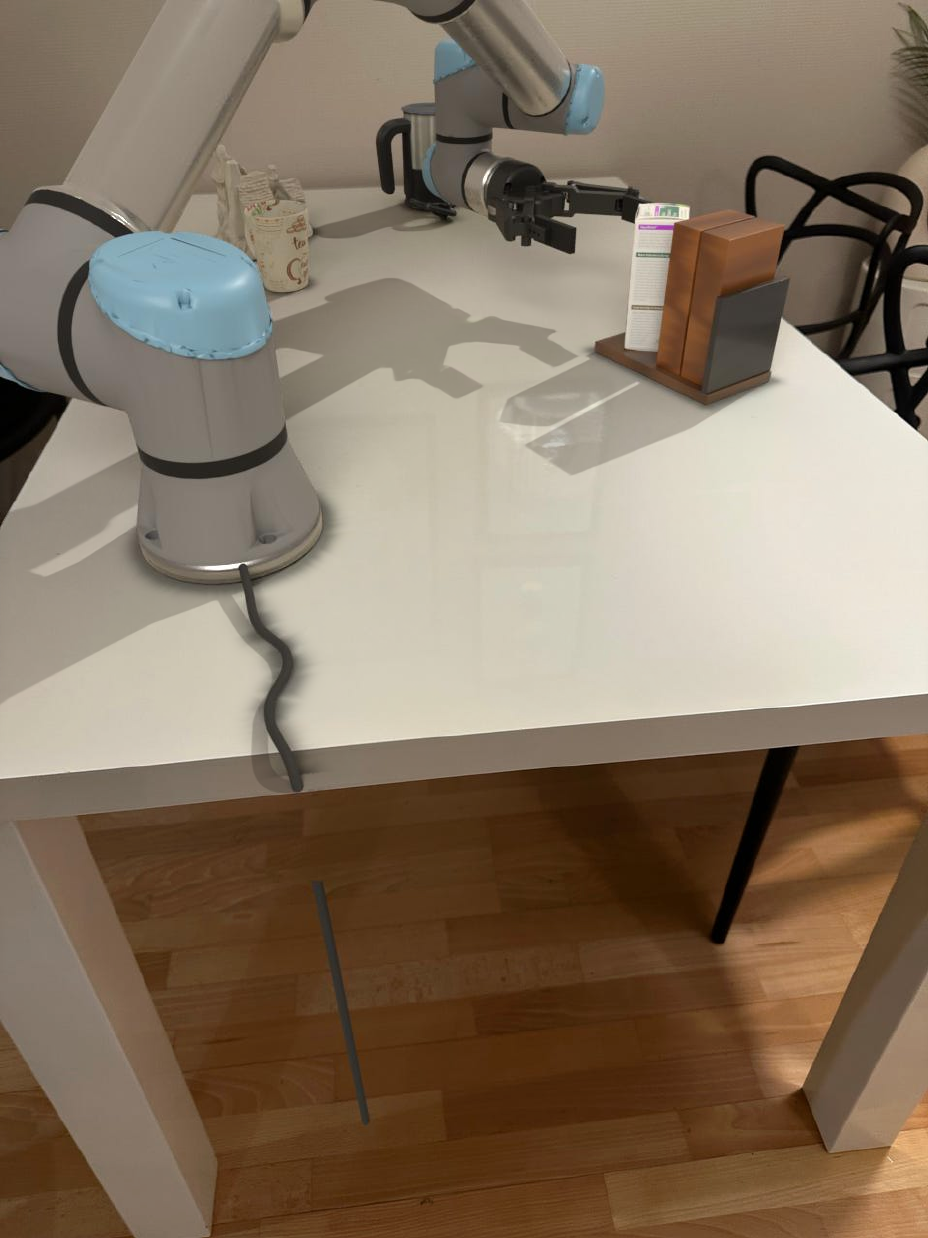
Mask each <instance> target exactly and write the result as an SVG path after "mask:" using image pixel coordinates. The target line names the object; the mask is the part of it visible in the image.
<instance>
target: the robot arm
mask: <svg viewBox="0 0 928 1238" xmlns="http://www.w3.org/2000/svg"><path fill="white" fill-rule="evenodd" d="M318 1H319V0H165V2H164V4H163V6H162V7H161V9H160V11H159V13H158V14H157V16H156V18H155V19H154V22H153V23H152V25H151V27H150V29H149V30H148V32H147V34H146V36H145V38H144V39H143V41H142V43H141V45H139V47H138V50H137V52H136V54H135V55H134V57H133V59H132V60H131V62H130V64H129V66H128V67H127V70H126V71H125V73H124V75H123V77H122V78H121V80H120V81H119V83H118V85H117V87H116V89H115V90H114V92H113V94H112V96H111V98H110V99H109V101H108V103H107V105H106V107H105V108H104V110H103V112H102V114H101V116H100V117H99V119H98V120H97V123H96V124H95V126H94V128H93V130H91V133H90V135H89V137H88V139H87V140H86V142H85V144H84V145H83V147H82V149H81V150H80V152H79V155H78V156H77V158H76V160H75V162H74V163H73V165H72V166H71V168H70V170H69V172H68V174H67V175H66V177H65V179H64V181H63V183H62V184H58V185H57V184H56V185H41V186H39V187H36V188H35V189H34V190H33V191H32V192H31V193H30V195H29V197H28V199H27V200H26V202H25V203H24V205H23V207H22V209H21V211H19V214H18V216H17V217H16V219H15V221H14V222H13V224H12V226H11V227H10V229H9V230H8V229H4V228H2V227H1V228H0V377H1V378H3V379H5V380H9V381H12V382H14V383H17V384H18V385H19V386H21V387H24V388H26V389H28V390H32V391H35V392H39V393H52V394H55V395H59V396H63V397H68V398H72V399H76V400H78V401H83V402H87V403H91V404H94V405H98V406H101V407H105V408H111V409H114V410H117V411H121V412H124V413H125V414H126V415H127V416H128V419H129V424H130V427H131V431H132V435H133V438H134V441H135V444H136V449H137V452H138V456H139V459H140V464H141V470H140V480H139V489H138V490H139V491H138V503H137V512H136V513H137V514H136V528H135V529H136V530H135V531H136V535H137V539H138V543H139V545H140V549H141V553H142V555H143V557H144V559H145V561H146V562H147V563H148V564H149V566H151V567H152V568H153V569H154V570H156V571H157V572H159V573H161V574H163V575H165V576H167V577H169V578H172V579H175V580H178V581H183V582H187V583H195V584H205V585H207V584H208V585H216V584H217V585H220V584H231V583H238V582H241V585H242V589H243V592H244V598H245V605H246V611H247V615H248V619H249V623H250V624H251V626H252V628H253V629H254V631H255V632H256V633H257V634H258V635H259V636H260V637H261V638H262V639H263V640H264V641H265V642H267V643H268V644H269V645H271V646H272V647H273V648H275V650H277V651H278V653H279V654H280V656H281V659H282V666H281V670H280V672H279V674H278V676H277V678H276V679H275V681H274V683H273V684H272V686H271V688H270V689H269V691H268V693H267V695H266V698H265V701H264V705H263V720H264V725H265V728H266V732H267V733H268V736H269V738H270V740H271V741H272V743H273V744H274V747H275V749H276V750H277V752H278V753H279V755H280V758H281V759H282V762H283V764H284V767H285V770H286V772H287V776H288V779H289V783H290V786H291V789H292V791H293V792H294V793H297V794H298V793H301V792H302V791H303V790H304V784H303V780H302V777H301V772H300V769H299V766H298V764H297V761H296V757H295V755H294V754H293V751H292V749H291V748H290V746H289V743H288V742H287V740H286V739H285V737H284V735H283V734H282V732H281V731H280V728H279V726H278V723H277V721H276V704H277V701H278V698H279V696H280V695H281V693H282V691H283V689H284V688H285V686H286V685H287V683H288V681H289V679H290V677H291V675H292V672H293V667H294V661H293V660H294V659H293V655H292V652H291V649H290V648H289V646H288V645H287V644H286V643H285V642H284V641H283V640H282V639H281V638H279V637H278V636H277V635H275V634H274V633H273V632H271V631H270V629H268V628H267V627H266V626H265V625H264V623H263V622H262V620H261V617H260V616H259V613H258V610H257V602H256V598H255V592H254V588H253V584H252V580H253V579H257V578H260V577H264V576H267V575H270V574H272V573H273V574H274V573H275V572H277V571H280V570H281V569H284V568H286V567H288V566H290V565H291V564H293V563H295V562H296V561H298V560H299V559H301V558H302V557H303V556H304V555H305V554H307V553H308V552H309V551H310V550H311V549H312V548H313V546H314V545H315V544H316V543H317V541H318V540H319V538H320V536H321V533H322V529H323V515H322V507H321V501H320V497H319V496H318V493H317V492H316V489H315V488H314V485H313V484H312V481H311V480H310V478H309V476H308V474H307V473H306V471H305V468H304V466H303V465H302V464H301V462H300V459H299V458H298V455H297V453H296V452H295V450H294V448H293V446H292V445H291V443H290V439H289V435H288V429H287V423H286V415H285V407H284V400H283V395H282V394H283V393H282V386H281V380H280V371H279V364H278V358H277V351H276V343H275V337H274V330H273V329H274V322H273V321H274V320H273V316H272V312H271V306H270V305H269V303H268V301H267V297H266V291H265V286H264V283H263V280H262V276H261V273H260V270H259V267H258V266H257V264H255V262H254V260H251V259H250V258H249V257H248V256H247V255H246V254H245V253H244V252H243V251H241V250H240V249H238V248H237V247H235V246H234V245H232V244H230V243H227V242H225V241H222V240H220V239H217V238H215V237H214V236H211V235H210V236H209V235H206V234H202V233H197V232H190V231H183V230H182V231H180V230H176V231H175V232H174V230H175V228H176V227H177V225H178V222H179V221H180V219H181V217H182V216H183V214H184V211H185V209H186V208H187V206H188V204H189V202H190V200H191V198H192V197H193V195H194V192H195V190H196V189H197V187H198V184H199V183H200V181H201V179H202V177H203V176H204V173H205V172H206V170H207V168H208V165H209V164H210V162H211V160H212V158H213V156H214V155H215V151H216V149H217V147H218V145H219V143H220V141H221V140H223V138H224V136H225V134H226V132H227V130H228V128H229V126H230V124H231V122H232V120H233V118H234V117H235V115H236V112H237V111H238V109H239V107H240V105H241V103H242V101H243V100H244V98H245V96H246V95H247V92H248V90H249V89H250V86H251V85H252V82H253V80H254V78H255V77H256V75H257V73H258V71H259V69H260V67H261V65H262V64H263V62H264V60H265V58H266V56H267V54H268V52H269V51H270V48H271V47H272V45H273V44H283V43H286V42H289V41H290V40H293V38H296V36H297V35H298V34H299V33H300V31H301V29H302V28H303V25H304V24H305V22H306V20H307V18H308V16H309V15H310V13H311V11H312V8H313V7H314V5H315V4H316V2H318ZM374 1H377V2H382V3H383V2H384V3H389V4H394V5H398V6H401V7H403V8H406V9H407V10H408V11H409V12H410V13H411V14H412V15H413V16H414V17H415V18H417V19H418V20H420V21H421V22H424V23H426V24H431V25H439V27H441V29H442V30H443V31H444V32H445V33H446V34H447V35H448V36H449V37H450V38H445V39H442V40H441V41H439V42H438V43H437V44H436V45H435V48H434V60H433V61H434V62H433V64H434V65H433V80H432V84H433V86H434V103H435V117H436V138H435V143H433V144H432V145H431V146H430V148H429V149H428V150H427V152H426V156H425V159H424V162H423V164H422V174H423V179H424V182H425V184H426V186H427V188H428V189H429V190H430V191H431V192H432V193H433V194H434V195H436V196H438V197H439V198H441V199H443V200H444V201H446V202H447V203H449V204H453V205H454V206H457V207H461V208H463V209H466V210H469V211H472V212H474V213H476V214H479V215H482V216H484V217H487V220H489V221H491V222H493V223H494V224H495V225H496V226H497V228H498V230H499V232H500V233H501V236H502V237H503V238H504V240H505V241H506V242H511V243H512V242H515V241H517V239H516V237H520V246H521V247H524V248H525V247H526V248H527V247H531V246H532V240H533V241H535V242H536V243H540V244H542V245H545V246H547V247H550V248H553V249H555V250H558V251H560V252H562V253H565V254H568V255H574V254H576V243H577V227H576V226H573V225H571V224H568V223H564V222H562V221H559V220H557V219H555V218H554V217H557V218H558V217H559V218H573V217H574V216H575V215H576V214H580V215H595V216H612V217H620V218H621V219H620V220H622V221H625V222H628V223H631V224H633V225H635V218H636V212H637V210H638V206H639V204H651V203H654V202H653V201H651V200H647V199H644V198H640V190H639V189H637V188H634V186H632V185H631V186H630V185H628V187H619V186H609V185H604V184H603V185H601V184H593V183H585V182H582V181H577V180H574V179H569V180H568V181H567V182H566V184H557V183H556V182H555V181H547V179H546V177H545V174H544V173H543V172H542V170H541V169H540V168H539V167H538V166H536V165H535V164H532V163H529V162H525V161H523V160H520V159H516V158H514V157H511V156H508V155H505V154H501V153H497V152H493V138H494V137H493V133H494V132H493V129H504V130H515V131H525V132H526V131H527V132H534V133H535V132H536V133H546V134H554V135H563V136H564V137H567V136H569V135H570V136H571V135H572V136H573V135H574V136H587V135H590V134H592V133H593V132H594V130H595V129H596V128H597V126H598V125H599V122H600V120H601V117H602V113H603V108H604V103H605V93H606V92H605V91H606V87H605V80H604V75H603V72H602V71H601V69H600V68H599V67H598V66H596V65H591V64H585V63H583V62H578V63H571V62H570V61H569V60H568V58H567V57H566V56H565V54H564V52H563V51H562V50H561V49H560V47H559V46H558V44H557V43H556V41H555V40H554V38H553V37H552V36H551V34H550V33H549V32H548V31H547V29H546V27H545V26H544V25H543V23H542V22H541V21H540V19H539V17H538V16H537V15H536V14H535V12H534V11H533V9H532V8H531V6H530V5H529V3H528V2H527V1H526V0H374ZM566 203H567V204H568V209H565V208H566ZM310 882H311V885H312V890H313V895H314V900H315V904H316V909H317V915H318V919H319V923H320V928H321V932H322V937H323V942H324V947H325V951H326V956H327V961H328V965H329V971H330V975H331V981H332V984H333V990H334V994H335V998H336V1003H337V1009H338V1014H339V1018H340V1023H341V1027H342V1033H343V1037H344V1041H345V1046H346V1051H347V1056H348V1062H349V1066H350V1071H351V1075H352V1076H351V1077H352V1079H353V1086H354V1090H355V1095H356V1100H357V1105H358V1109H359V1113H360V1117H361V1122H362V1125H364V1126H368V1125H369V1124H370V1122H371V1119H370V1113H369V1110H368V1109H369V1108H368V1104H367V1098H366V1094H365V1088H364V1083H363V1078H362V1073H361V1072H362V1071H361V1067H360V1063H359V1058H358V1052H357V1048H356V1041H355V1038H354V1037H355V1036H354V1032H353V1026H352V1021H351V1017H350V1011H349V1006H348V1001H347V996H346V991H345V985H344V980H343V975H342V971H341V965H340V960H339V955H338V950H337V945H336V941H335V936H334V931H333V925H332V921H331V916H330V910H329V906H328V902H327V895H326V891H325V885H324V882H323V881H317V880H311V881H310Z"/></svg>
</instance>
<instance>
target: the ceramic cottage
mask: <svg viewBox="0 0 928 1238" xmlns="http://www.w3.org/2000/svg"><path fill="white" fill-rule="evenodd" d="M214 157H215V159H216V165H215V167H214V169H213V170H212V171H211V176H210V177H211V181H212V182H213V183H214V185H215V190H216V195H217V203H216V205H217V211H216V212H217V213H216V214H217V221H218V223H219V226H218V227H217V228H218V229H217V231H216V233H214V238H217V239H220V240H222V241H225V242H227V243H230V244H232V245H234V246H235V247H237V248H238V249H240V250H241V251H243V252H244V253H245V254H246V255H247V256H248V257H249V258H250V259H251V260H252V261H254V260H255V261H257V259H256V258H255V257H254V255H253V254H252V253H251V251H250V249H249V247H248V245H247V242H246V238H245V222H246V220H245V216H244V210H245V209H246V208H247V207H248V206H250V205H253V204H256V203H260V202H266V201H275V200H289V201H297V202H301V203H304V204H305V205H306V206H307V203H306V200H307V198H306V195H305V192H304V189H303V188H302V185H301V183H300V181H299V179H298V178H297V177H291V178H288V179H279V175H278V172H277V166H276V165H274V164H270V165H268V166H267V175H266V173H265V172H264V171H262V172H260V171H259V170H255V171H251V172H248V170H247V168H246V167H244V166H242V165H241V164H240V162H238V160H236V159H235V158H234V157H233V156H231V155H228V154H227V151H226V147H225V146H224V144H223V139H221V141H220V143H219V145H218V147H217V149H216V151H215V153H214ZM313 234H314V230H313V227H312V226H311V224H310V223H308V238H310V237H312V236H313Z"/></svg>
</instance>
